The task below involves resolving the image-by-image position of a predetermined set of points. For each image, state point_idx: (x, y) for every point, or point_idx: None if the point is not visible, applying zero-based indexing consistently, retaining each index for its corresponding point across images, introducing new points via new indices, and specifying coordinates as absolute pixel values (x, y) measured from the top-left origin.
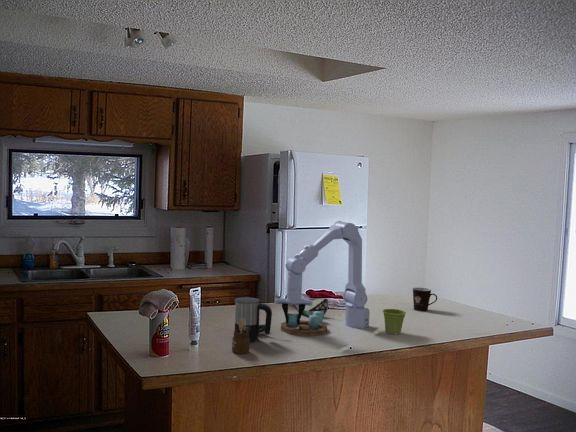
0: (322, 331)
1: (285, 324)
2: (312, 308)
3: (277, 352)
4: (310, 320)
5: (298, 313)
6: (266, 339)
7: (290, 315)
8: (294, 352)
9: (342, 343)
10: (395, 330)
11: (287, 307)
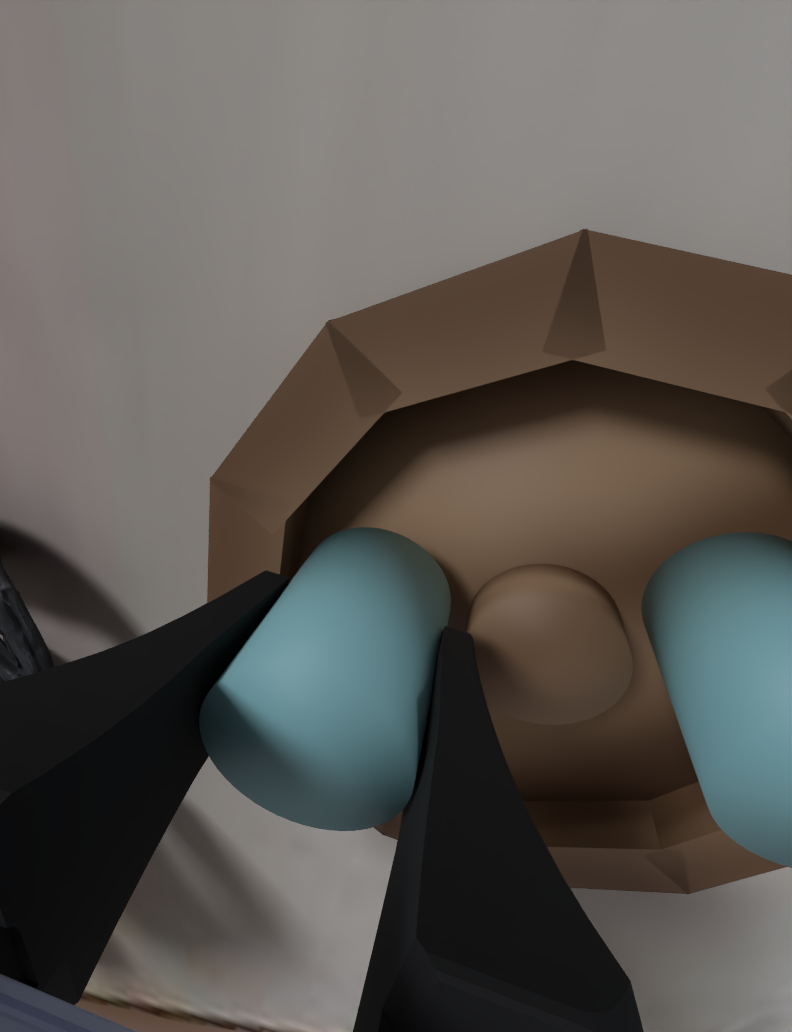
0: (705, 876)
1: (271, 554)
2: None
3: (213, 937)
4: (686, 742)
5: (391, 878)
6: None
7: (250, 787)
8: (308, 967)
9: (780, 976)
10: None
11: (64, 997)
